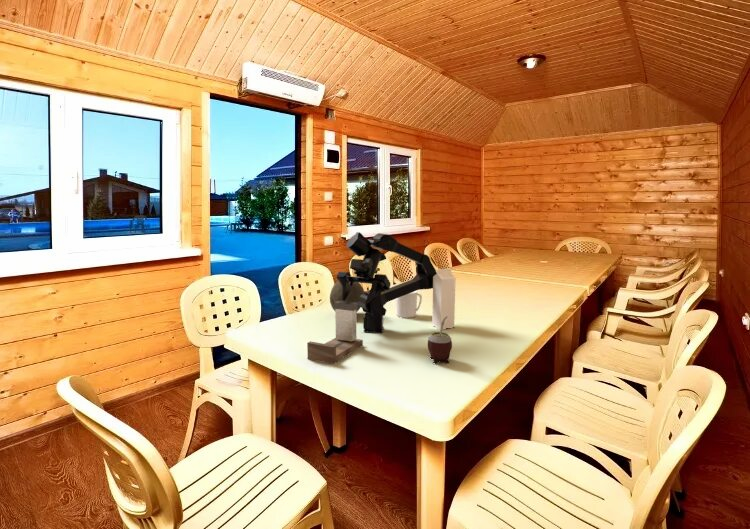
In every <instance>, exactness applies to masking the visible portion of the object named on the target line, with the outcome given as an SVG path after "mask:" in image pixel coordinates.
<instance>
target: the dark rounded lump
mask: <svg viewBox="0 0 750 529" xmlns="http://www.w3.org/2000/svg"><path fill="white" fill-rule="evenodd" d="M351 287H352V289H351V291H350V293H349V294H348V296H347V298H346V299H345V301H346V302H355V303H358V301H359V298H360V295H362V294H363V293H364V291H365V289H364V287H363V286H362V285H361V283H359V282H354V283H353V285H352V286H351ZM337 301H343V300H342V285H341V283H340V282H339V280H338V281H337V282H335V284H333V286H332V288H331V290H330V293H329V303H330V306H331V308H332V309H333V311H334V312H335V309H334V302H337ZM360 309H361V307H360V306H359V303H358V309H357V310H356V313H357V312H359V310H360Z"/></svg>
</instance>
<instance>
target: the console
mask: <svg viewBox="0 0 750 529" xmlns="http://www.w3.org/2000/svg"><path fill="white" fill-rule="evenodd" d="M363 340H364V339H361V338H357V339H356V340H354V341H352V342H351V341H345V340H339V339H336V337H335V338H333V339H331V340H329V341H327V342H325V343H322V342H316V341H312V340H311V341H309V342H307V359H308V360H311V361H315V362H316V361H318V362H321V363H327V364H331V365H335V364H336V363H337V362H339V361H340V359H341V360H343V359H344V358H345V357H347V356H348V354H349V355H350V354H352V353H353V351H354V352H355V351H357V350H358V349H360V348H361V346H362V347H363V346H364V342H363ZM356 349H357V350H356ZM343 357H344V358H343ZM338 360H339V361H338ZM335 362H336V363H335Z"/></svg>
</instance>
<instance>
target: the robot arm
mask: <svg viewBox="0 0 750 529" xmlns="http://www.w3.org/2000/svg"><path fill="white" fill-rule="evenodd" d="M345 247H346V248H347V249H348V250H350V251H351V252H352V253H354V254H355V255H356V256H357V257H363V258H362V259H356V258H351V260H350V265H349V269H351V270H353V274H354V275H351V273H350V272H349V271H342V270H341V271H338V272H337V275H336V276H335V278H336V279H337V280H338V281H339V282H340V283H341V285H342V300H343V301H345V299H346V298H347V296H348V294H349V293H350V291H351V289H352V287H351V286H352V285H353V283H354V282H359V283H360V284H361V283H362V284H369V285H370V284H371V287H370V289H369V290H367V291H365V290H364V293H363V294H362V295H360V298H359V301H358V303H359V306H360V309H362V312H363V313H364V317H363V319H362V321H363V322H362V323H363V332H364V333H378V334H380V333H383V330H384V328H385V326H384V316H386V313H387V309H386V308H385V305H386V304H387V303H389V302H391V301H393V300H396V298H399V297H401V296H404V295H407V294H409V293H412V292H414V291H417V292H418V291H420V290H421V291H422V290H429V289H430V290H431V289H433V276H435V275H436V274H437V269H436V268H435V267H434V265H433V263H432V262H431V257H430V256H429V255H427V254H424V253H422V252H419V251H418V250H416V249H414V248H411V247H408V246H406V245H405V244H402V243H400V242H399V241H398V240H397V239H396V238H395V237H393V236H392V235H391V234H387V233H381V232H379V233H377V234H375V235H374V236H373V237H371V238H369V239H368V238H367V237H365V236H364V235H363V234H362V233H361V232H359V231H357V232H356V233H355V234H354V235H352V236H351V237H350V238H348V239H347V242H346V244H345ZM381 251H385V252H386V251H387V252H389V253H390V252H391V253H394V254H396V255H399V256H401V257H404V258H405V259H409V260H410V261H413V262H415V264H416V271H415V272H416V273H417V274H416V275H415V276H413V278H412V279H410V280H407V281H405V282H402V283H399V284H397V285H394V286H391V282H390V279H389V278H388V276H387V274H381V273H378V266H379V263H380V262H382V261H384V260H385V261H386V260H387V256H386V255H385V252H381Z"/></svg>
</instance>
